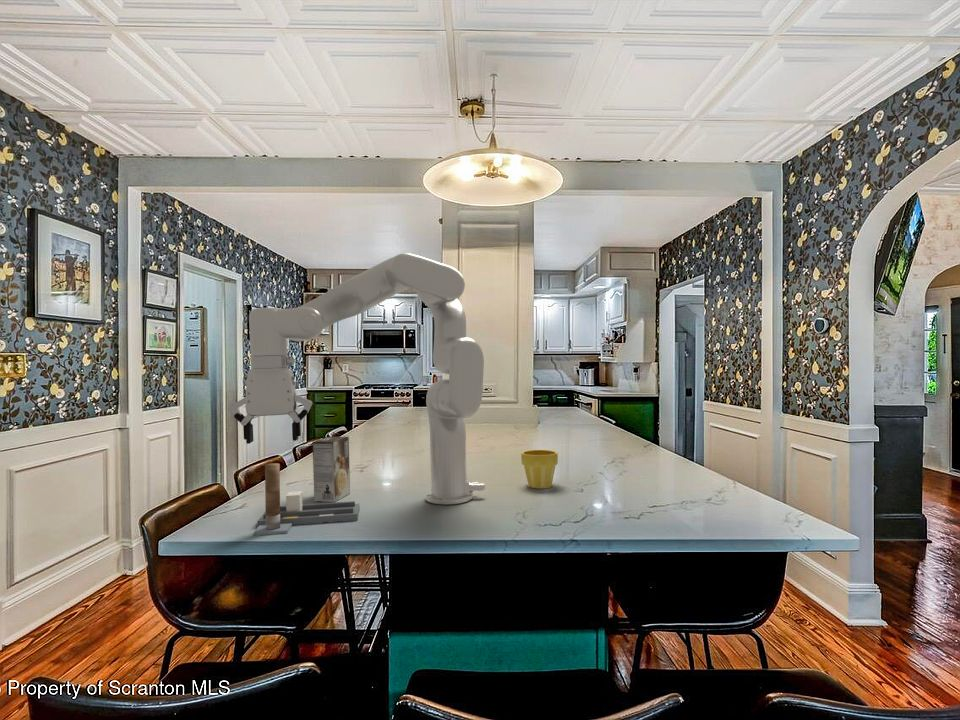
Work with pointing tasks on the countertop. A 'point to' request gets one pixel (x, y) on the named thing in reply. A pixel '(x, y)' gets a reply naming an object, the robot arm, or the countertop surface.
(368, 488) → the countertop surface
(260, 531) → the tool mat
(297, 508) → the switch tab
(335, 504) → the switch panel
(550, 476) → the plant pot
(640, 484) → the countertop surface
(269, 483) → the brown rod
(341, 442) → the coffee box
